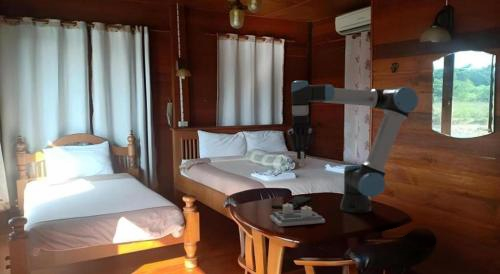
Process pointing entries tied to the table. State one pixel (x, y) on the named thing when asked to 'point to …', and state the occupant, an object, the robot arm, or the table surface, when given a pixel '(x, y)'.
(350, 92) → the robot arm
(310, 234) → the table surface
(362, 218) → the table surface
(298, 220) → the switch plate
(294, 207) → the firearm
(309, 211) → the tab
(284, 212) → the tab
